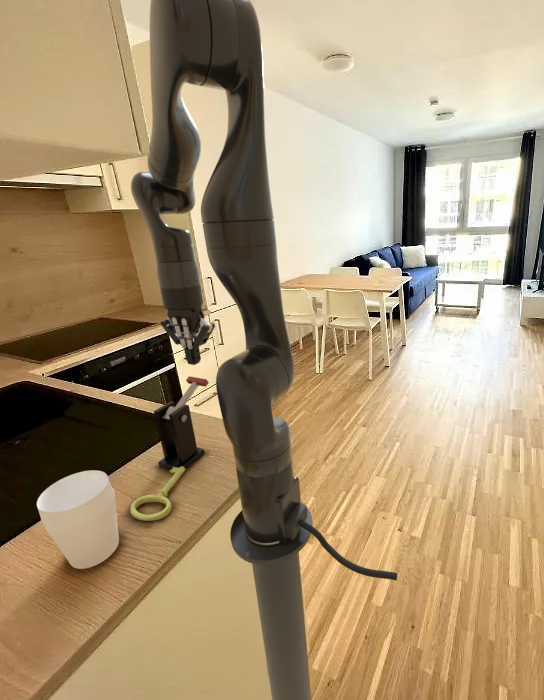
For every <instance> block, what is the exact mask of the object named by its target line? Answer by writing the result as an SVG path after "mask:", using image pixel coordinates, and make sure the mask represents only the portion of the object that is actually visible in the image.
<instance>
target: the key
mask: <svg viewBox="0 0 544 700" xmlns="http://www.w3.org/2000/svg"><path fill="white" fill-rule="evenodd" d="M185 471H186V469H185V468H184V467H180V468H176V467H173V468H172V470H169V473H172V474H173V475H172V476H171V477H170V479H168V481H167V482H166V483H165V485H164V486H163V487H161V488H160V489H158V490H157V494H147V495H143V496H140V497H137V498H136V499H135V500H134V501H133V502H132V503H131V505H130V509H129V510H130V515H131V516H132V517H133V518H134V519H137V520H139V521H145V522H153V521H159V520H161V519H164V518H165V517H167V516H168V515H169V514H170V512H171V511H172V502H171V501H170V500H169V499H168V494H169V491H170V490H171V489H172V488H173V486H174V485H175V484H176V482H177V481H178V480H179V478H181V476H182V475H183V474H184V472H185ZM147 503H160V504H163V505H165V507H164V509H163V510H161V511H159V512H155V513H151V514H147V513H146V514H144V513H141V512H139V511H138V510H137V509H138V508H139V507H140V506H141V505H143V504H147Z"/></svg>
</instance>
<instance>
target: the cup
mask: <svg viewBox="0 0 544 700" xmlns="http://www.w3.org/2000/svg"><path fill="white" fill-rule="evenodd" d="M36 507H37V510H38V513H39V516H40V521H41V524H42V526H43V528H44V529H45V531H46V532H47V533H48V535H49V536H50V538H51V539H52V540H53V542H54V544H55V545H56V546H57V548H58V550H59V551H60V552H61V553H62V555H63V556H64V557H65V559H66V560H67V562H68V563H69V564H70V566H71V567H72V568H74V569H77V570H85V569H90V568H92V567H95V566H97V565H99V564H101V563H103V562H104V561H106V560H107V559H108V558H109V557H110V556H112V555H113V554H114V552H115V551H116V550H117V548H118V546H119V543H120V536H119V526H118V515H117V506H116V495H115V490H114V487H113V486H112V484H111V481H110V478H109V475H108V474H107V473H106V472H104V471H102V470H94V469H93V470H83V471H80V472H76V473H72V474H70V475H68V476H65V477H63V478H61V479H59V480H57V481H56V482H54V483H52V484H51V485H50V486H48V487H47V488H46V489H45V490H44V491H42V492H41V494H40V495H39V497H38V498H37V501H36Z"/></svg>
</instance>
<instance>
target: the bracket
mask: <svg viewBox="0 0 544 700" xmlns="http://www.w3.org/2000/svg"><path fill="white" fill-rule="evenodd" d="M170 406H172V407H175V406H176V404H175V402H174V401H169V402H167V403H165V404H163V405H162V406H160V407H158V408H157V409H155V410H153V413H154V418H155V422H156V427H157V431H158V436H159V440H160V443H161V448H162V454H163V458H162V459H160V460H159V461H158V462H157V463H158V466H159V468H162V469H166V470H168V471H170V470H172V468H173V467H176V468H180V467H184V468H185V470H187V469H188V468H189V467H190V466H192V465H193V464H194V463H195V462H196V461H198V460H199V459H200V458H201V457H202V456H204V455H205V449H204V448H201V447H198V446H197V445H198V444H197V441H196V436H195V430H194V425H193V420H192V414H191V410H190V405H189V404H185V405H184V406H182V407H180V408H179V409H177V410H176V411H174V412H172V413H171V414H169V418H170V423H171V424H168V423H167V422H166V421H165V420H164V419H163V418H162V417H163V415H164V414H165V413H166V411H167V410H168V408H169V407H170Z"/></svg>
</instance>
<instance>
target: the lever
mask: <svg viewBox="0 0 544 700" xmlns="http://www.w3.org/2000/svg"><path fill="white" fill-rule="evenodd" d="M185 381H186V382H187V384H189V385H190V386H189V387H188V388H187V390H186V391H185V392H184V394H183V395H182V396H181V398H180V399H179V401H178V402H177V403H176V404H175V407H172V406H170V407H169V408H168V410H167V411H166V413H165V414H164V415H163V417H162V418H163V419H164V420H165V421H166V422H167V423H168V424H171V423H170V418H169V414H171V413H172V412H174V411H176V410H177V409H179V408H180V407H182V406H184V405H187V402H189V400H190V399H191V397H192V396H193V394H194V393H195V391H196V390H197V388H198V387H205V388H206V387H207V386H208V385H209V384H210V382H209V381H208V379H207V378H201V377H195V376H188V377H187V378H186V380H185Z"/></svg>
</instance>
